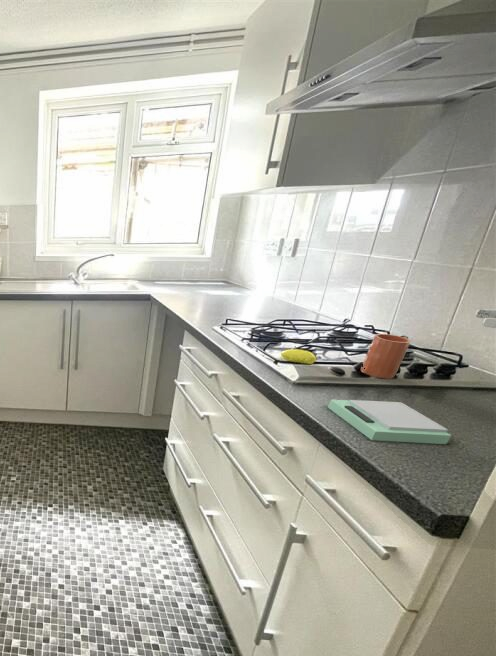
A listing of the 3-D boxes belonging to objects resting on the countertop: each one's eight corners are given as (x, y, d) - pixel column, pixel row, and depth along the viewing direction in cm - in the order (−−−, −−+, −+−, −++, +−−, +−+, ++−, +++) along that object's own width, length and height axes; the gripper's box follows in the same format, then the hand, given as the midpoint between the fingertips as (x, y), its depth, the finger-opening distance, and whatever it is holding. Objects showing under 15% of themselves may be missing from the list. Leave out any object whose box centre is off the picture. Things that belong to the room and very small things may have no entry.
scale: (391, 412, 89) (397, 399, 88) (445, 446, 78) (453, 432, 76) (326, 409, 90) (331, 396, 89) (370, 442, 79) (377, 428, 78)
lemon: (314, 368, 111) (319, 354, 109) (278, 362, 115) (283, 348, 113) (313, 363, 114) (318, 349, 112) (278, 357, 118) (282, 344, 116)
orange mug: (380, 370, 110) (396, 334, 105) (400, 380, 104) (418, 343, 100) (353, 369, 110) (368, 333, 106) (371, 379, 104) (388, 342, 100)
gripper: (573, 305, 90) (479, 295, 98) (608, 325, 76) (496, 311, 84) (555, 333, 93) (466, 320, 101) (586, 357, 79) (480, 341, 87)
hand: (480, 316), depth 92 cm, fingers open, 8 cm apart
